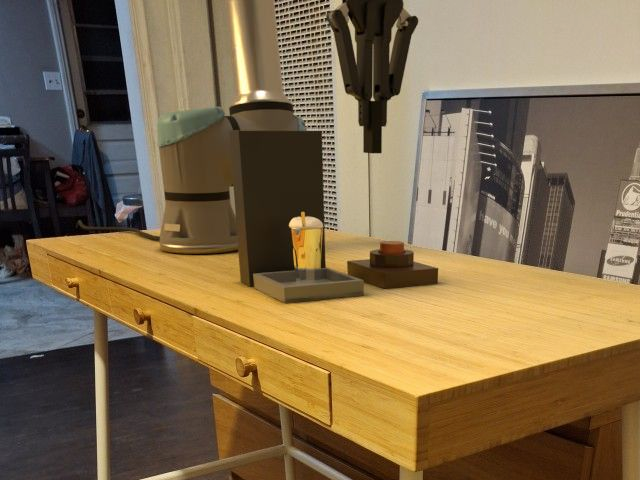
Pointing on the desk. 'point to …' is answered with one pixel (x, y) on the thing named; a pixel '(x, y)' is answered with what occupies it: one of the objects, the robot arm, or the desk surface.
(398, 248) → the brew button
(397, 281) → the panel
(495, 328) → the desk surface
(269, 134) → the coffee maker
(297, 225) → the milkshake
